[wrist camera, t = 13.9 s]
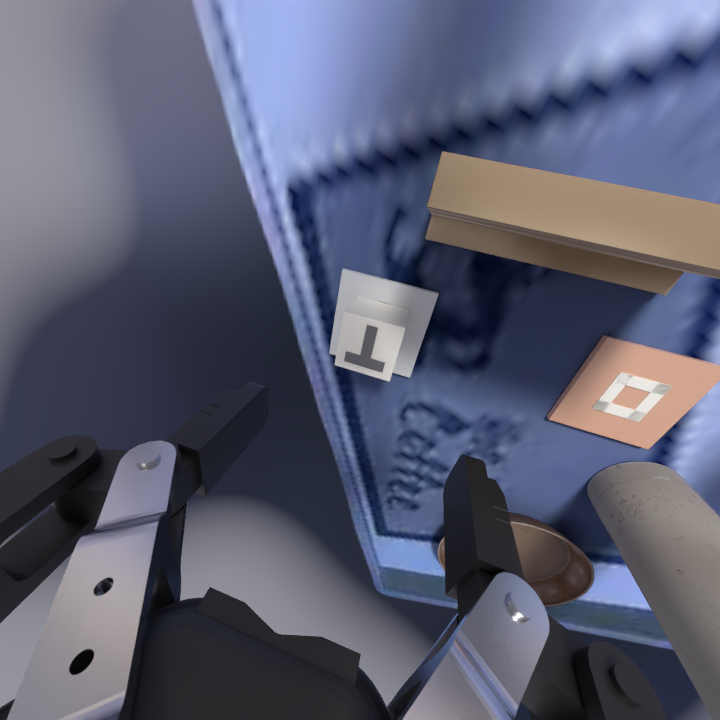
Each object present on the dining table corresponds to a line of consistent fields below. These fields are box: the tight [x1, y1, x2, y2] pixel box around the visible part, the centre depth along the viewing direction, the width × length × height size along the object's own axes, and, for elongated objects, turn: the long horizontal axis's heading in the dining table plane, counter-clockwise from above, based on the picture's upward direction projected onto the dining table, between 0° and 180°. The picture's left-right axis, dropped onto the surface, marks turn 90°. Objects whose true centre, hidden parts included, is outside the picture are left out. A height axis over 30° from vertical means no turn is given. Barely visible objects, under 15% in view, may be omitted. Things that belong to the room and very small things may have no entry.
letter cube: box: [335, 296, 411, 382], centre depth 24 cm, size 5×5×5 cm
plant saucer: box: [438, 512, 594, 607], centre depth 36 cm, size 18×18×3 cm
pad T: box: [329, 268, 439, 378], centre depth 27 cm, size 9×9×1 cm
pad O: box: [547, 335, 720, 449], centre depth 24 cm, size 9×9×1 cm
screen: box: [425, 151, 720, 295], centre depth 14 cm, size 5×18×14 cm, turn 79°
